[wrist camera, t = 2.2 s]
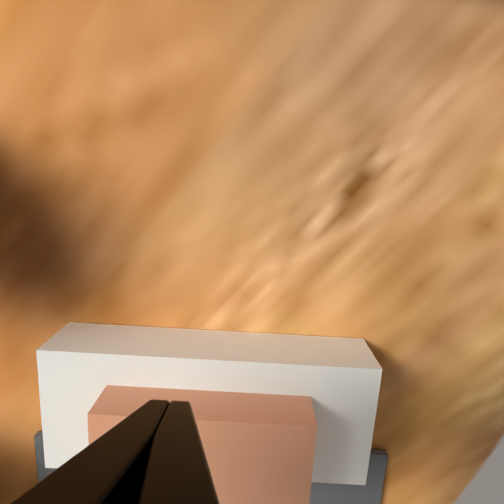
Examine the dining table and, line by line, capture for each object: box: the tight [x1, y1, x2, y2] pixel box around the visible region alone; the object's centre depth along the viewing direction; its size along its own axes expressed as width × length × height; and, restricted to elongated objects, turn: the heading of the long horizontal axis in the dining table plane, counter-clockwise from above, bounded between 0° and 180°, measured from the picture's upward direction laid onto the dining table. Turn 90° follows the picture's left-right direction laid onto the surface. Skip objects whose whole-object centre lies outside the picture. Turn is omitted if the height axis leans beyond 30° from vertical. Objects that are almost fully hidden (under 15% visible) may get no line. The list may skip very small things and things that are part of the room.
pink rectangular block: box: [87, 385, 318, 504], centre depth 16 cm, size 9×4×2 cm, turn 87°
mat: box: [34, 431, 388, 504], centre depth 22 cm, size 19×7×1 cm, turn 87°
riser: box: [36, 322, 383, 485], centre depth 19 cm, size 15×6×3 cm, turn 87°
